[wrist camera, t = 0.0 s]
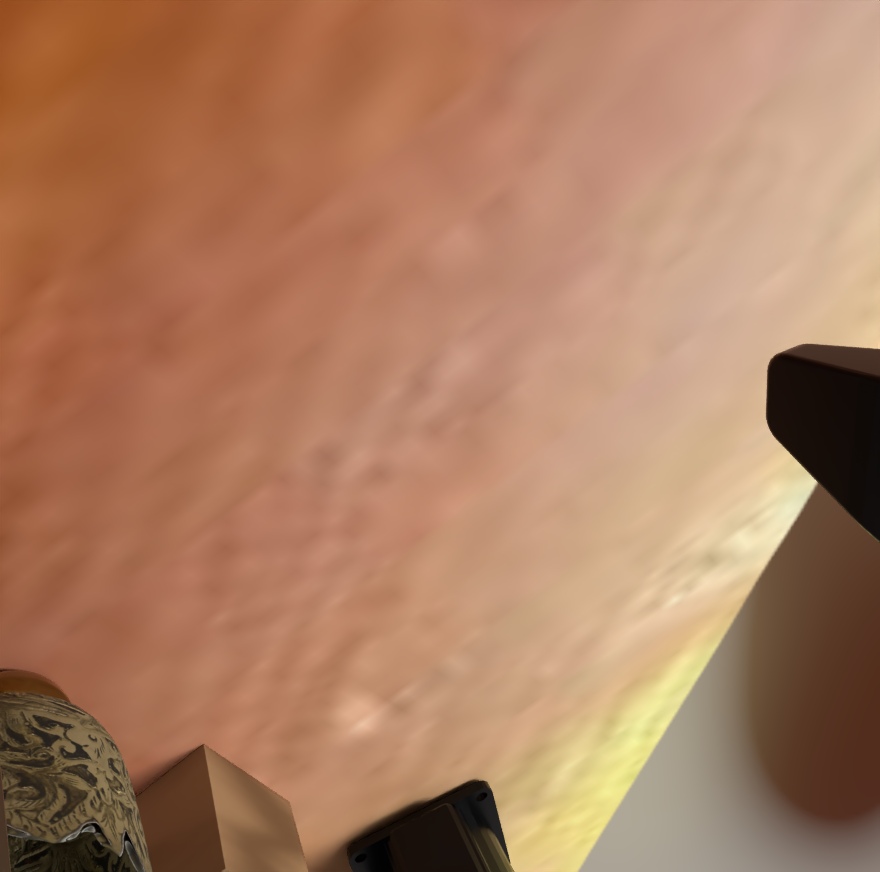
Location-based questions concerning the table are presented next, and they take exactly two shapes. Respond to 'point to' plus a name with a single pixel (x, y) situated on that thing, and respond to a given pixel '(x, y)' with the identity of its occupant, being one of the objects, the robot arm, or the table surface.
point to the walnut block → (217, 820)
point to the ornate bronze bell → (64, 785)
